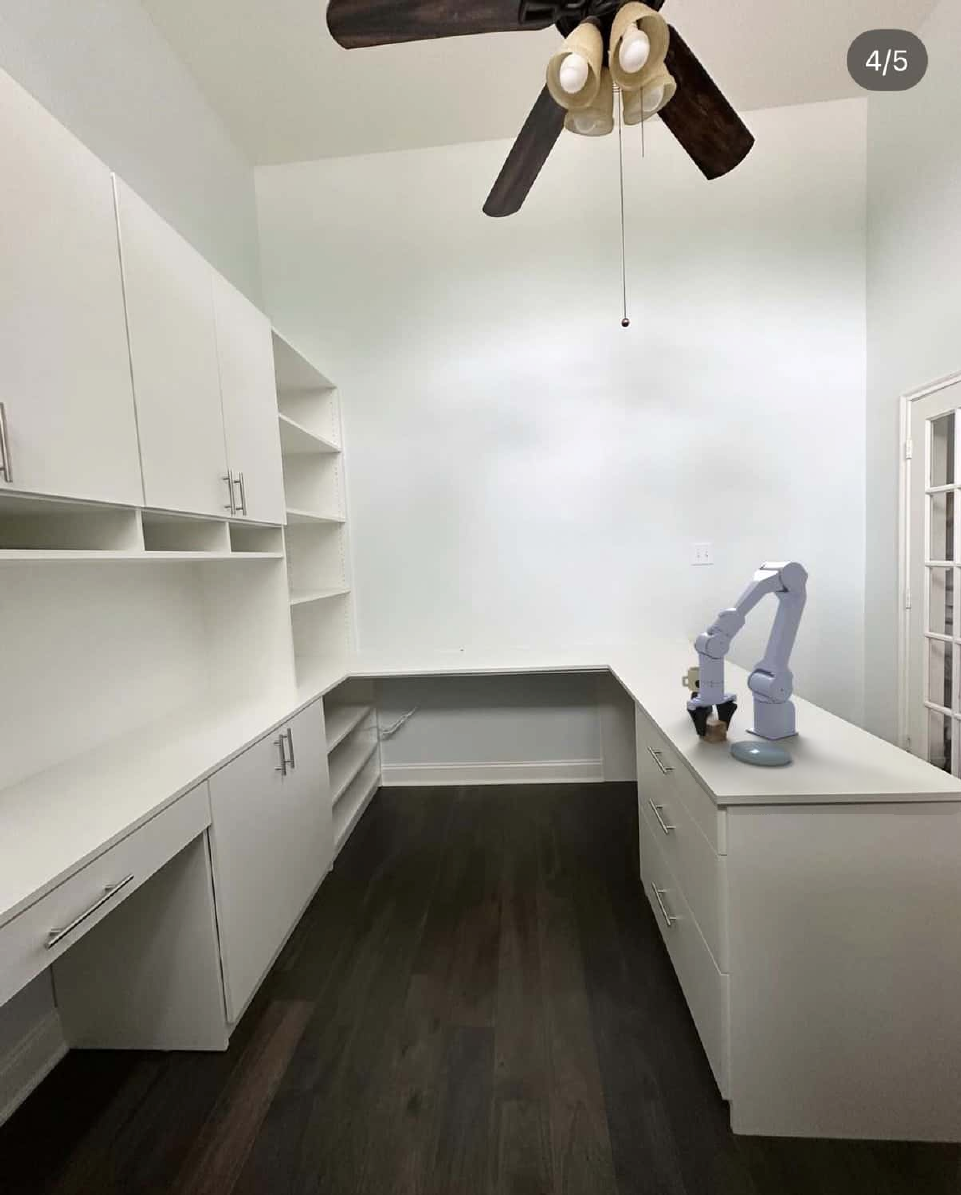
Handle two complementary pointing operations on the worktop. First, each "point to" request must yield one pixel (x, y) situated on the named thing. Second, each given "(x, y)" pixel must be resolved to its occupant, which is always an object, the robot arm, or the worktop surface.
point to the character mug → (694, 685)
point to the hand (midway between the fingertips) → (712, 732)
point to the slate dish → (761, 753)
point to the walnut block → (715, 730)
